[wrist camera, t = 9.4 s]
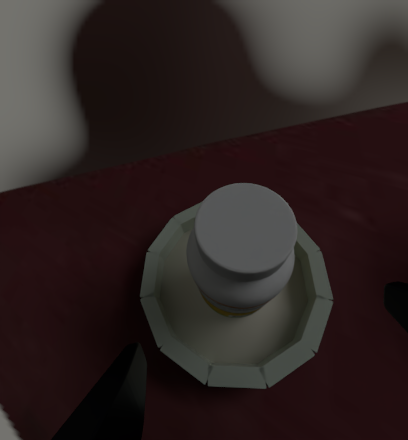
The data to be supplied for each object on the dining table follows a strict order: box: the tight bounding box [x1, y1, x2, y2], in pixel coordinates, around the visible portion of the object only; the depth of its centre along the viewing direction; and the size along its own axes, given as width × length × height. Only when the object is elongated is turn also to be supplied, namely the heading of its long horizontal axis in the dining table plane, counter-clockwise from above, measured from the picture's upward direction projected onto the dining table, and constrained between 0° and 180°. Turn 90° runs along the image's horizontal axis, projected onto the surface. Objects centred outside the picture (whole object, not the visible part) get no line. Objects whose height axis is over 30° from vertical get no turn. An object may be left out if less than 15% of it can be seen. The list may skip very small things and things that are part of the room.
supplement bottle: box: [186, 183, 297, 318], centre depth 13 cm, size 5×5×10 cm
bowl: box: [140, 202, 333, 389], centre depth 17 cm, size 13×13×2 cm
